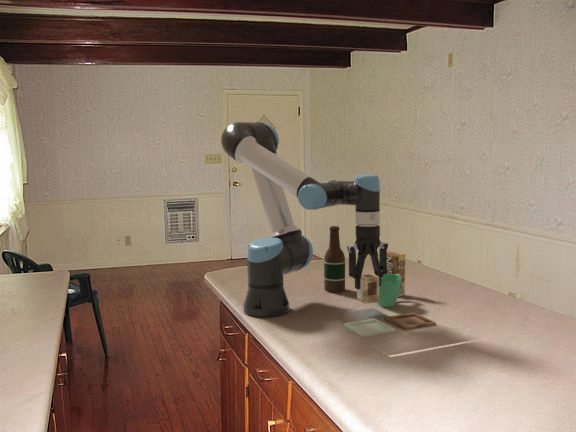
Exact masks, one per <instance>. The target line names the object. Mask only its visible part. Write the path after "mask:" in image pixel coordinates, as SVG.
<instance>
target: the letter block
mask: <svg viewBox="0 0 576 432" xmlns="http://www.w3.org/2000/svg"><path fill="white" fill-rule="evenodd" d="M361 279H363V300H360V299H358V298H357V297H356V298H357V299H356V300H357V301H359V302H361V303H363V304H365V305H366V304H374V303H378V302H379V277H378V276H376V275H375V274H373V273H366V274H365V273H364V274H363V273H362V276H361Z"/></svg>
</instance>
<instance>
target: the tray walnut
mask: <svg viewBox="0 0 576 432" xmlns="http://www.w3.org/2000/svg"><path fill="white" fill-rule="evenodd" d="M383 320H384V321H385V322H388V323H390V324H392V325H393V326H395V327H398V328H399V329H401V330H404V331H409V330H414V329H420V328H426V327H432V326H436V325H437V323H436V321H433V320H432V319H428V318H427V317H425V316H423V315H420V314H418V313H416V312H409V313H403V314H401V313H400V314H395V315H388V317H384V318H383Z"/></svg>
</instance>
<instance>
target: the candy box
mask: <svg viewBox="0 0 576 432" xmlns="http://www.w3.org/2000/svg"><path fill="white" fill-rule="evenodd" d="M386 274H394V275H395V274H400V275H401V277H402V286H401V289H400V292H399V295H398V298H400V297H403V296H405V295H406V291H405V290H406V285H405V284H406V253H401V252H398V251H389V250H387V273H386Z"/></svg>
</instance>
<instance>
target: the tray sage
mask: <svg viewBox="0 0 576 432" xmlns="http://www.w3.org/2000/svg"><path fill="white" fill-rule="evenodd" d="M343 328H344V329H346V330H347V331H350V332H351V333H352V334H354V335H356V336H358V337H359V338H361V339H362V338H366V337H373V336H377V335H385V334H389V333H396V331H397V329H396V328H394V327H392V326H390V325H389V324H388V323H385V322H383V321H381V320H379V319H376V318H375V319H369V320H362V321H361V320H357V321H350V322H344V323H343Z"/></svg>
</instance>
